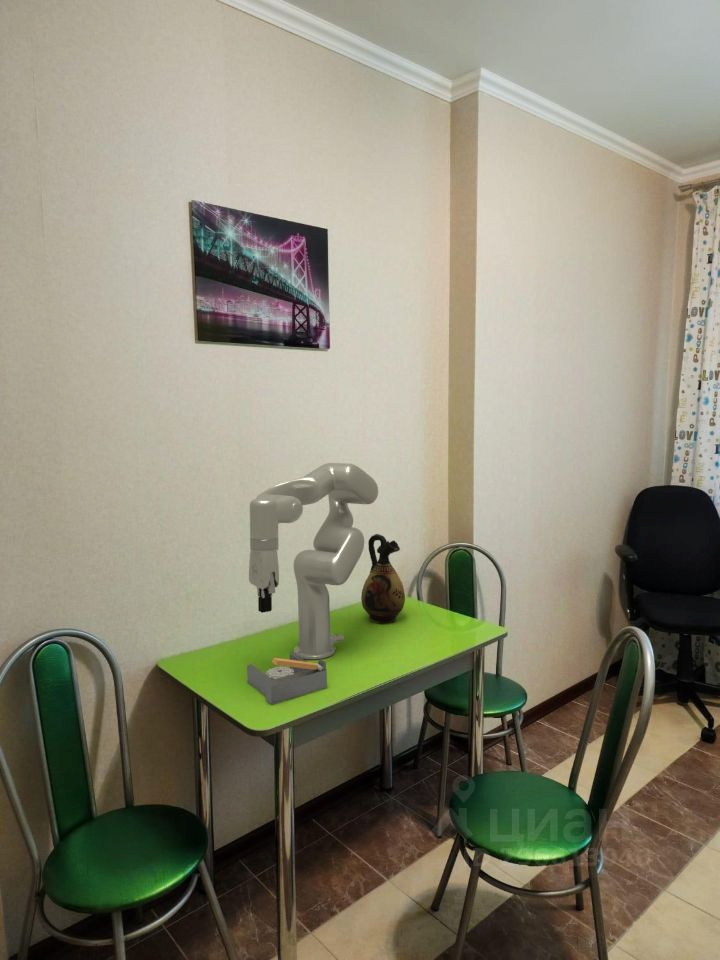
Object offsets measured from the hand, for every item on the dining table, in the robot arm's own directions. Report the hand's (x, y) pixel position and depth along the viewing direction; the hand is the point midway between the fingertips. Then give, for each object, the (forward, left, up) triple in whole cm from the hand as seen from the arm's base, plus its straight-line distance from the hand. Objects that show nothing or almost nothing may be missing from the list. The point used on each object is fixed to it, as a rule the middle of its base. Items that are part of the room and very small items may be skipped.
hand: (265, 611), depth 174 cm
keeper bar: (-2, +12, -12) cm, 18 cm away
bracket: (-2, +6, -20) cm, 21 cm away
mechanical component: (-1, +5, -20) cm, 21 cm away
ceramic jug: (-56, -22, -20) cm, 63 cm away
